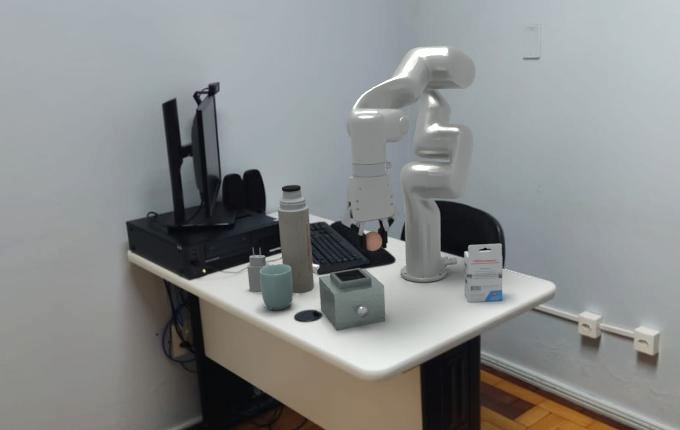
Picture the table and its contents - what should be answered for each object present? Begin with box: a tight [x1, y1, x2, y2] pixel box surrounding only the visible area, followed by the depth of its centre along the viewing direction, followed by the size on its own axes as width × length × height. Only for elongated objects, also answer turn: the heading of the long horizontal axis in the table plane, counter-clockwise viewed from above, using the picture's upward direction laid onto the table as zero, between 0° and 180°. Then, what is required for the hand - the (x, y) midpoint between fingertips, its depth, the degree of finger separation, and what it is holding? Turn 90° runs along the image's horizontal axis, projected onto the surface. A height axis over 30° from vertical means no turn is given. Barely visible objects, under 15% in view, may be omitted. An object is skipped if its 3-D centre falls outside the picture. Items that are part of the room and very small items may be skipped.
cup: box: [260, 263, 294, 311], centre depth 154 cm, size 8×8×10 cm
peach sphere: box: [365, 231, 382, 252], centre depth 141 cm, size 4×4×4 cm
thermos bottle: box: [277, 184, 315, 294], centre depth 163 cm, size 8×8×28 cm
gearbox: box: [318, 267, 386, 331], centre depth 146 cm, size 12×14×10 cm
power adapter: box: [247, 247, 270, 293], centre depth 165 cm, size 3×5×12 cm, turn 80°
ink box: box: [463, 243, 503, 303], centre depth 152 cm, size 8×5×15 cm, turn 90°
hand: (372, 247), depth 141 cm, fingers closed on peach sphere, 4 cm apart
